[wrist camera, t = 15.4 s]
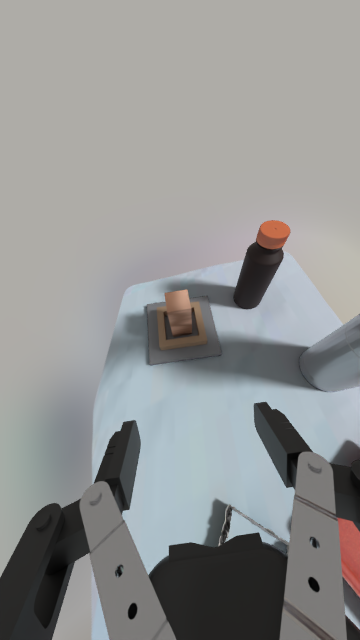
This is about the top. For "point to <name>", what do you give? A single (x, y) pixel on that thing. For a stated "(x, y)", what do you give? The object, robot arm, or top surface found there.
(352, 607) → the top surface
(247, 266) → the bottle
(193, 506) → the top surface
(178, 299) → the terracotta post
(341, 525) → the plant saucer
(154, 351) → the socket dock
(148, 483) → the top surface
